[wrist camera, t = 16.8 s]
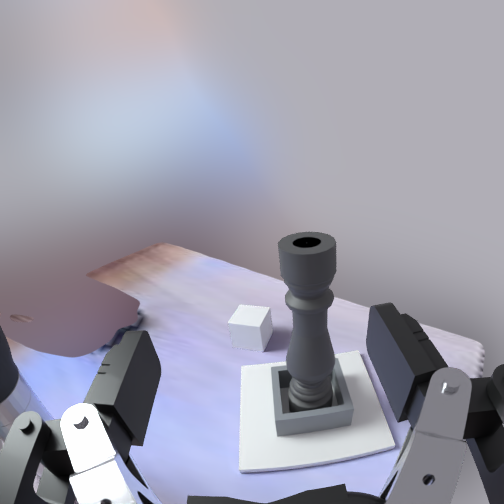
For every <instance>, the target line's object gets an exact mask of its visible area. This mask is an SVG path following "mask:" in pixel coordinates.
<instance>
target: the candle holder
mask: <svg viewBox="0 0 504 504" xmlns="http://www.w3.org/2000/svg"><path fill="white" fill-rule="evenodd" d="M278 249H279V259H280V270H281V276H282V278H283V279H284V283H285V284H286V285H287V286H288V288H289V290H288V292H287V293H286V295H285V302H286V305H287V306H288V307H289V308H290V310H292V313H293V331H292V335H291V339H290V344H289V348H288V352H287V356H286V366H287V370H288V371H289V373H290V374H291V376H292V379H291V381H290V388H289V390H288V398H289V411H290V412H291V413H294V412H301V411H308V410H315V409H322V408H328V407H332V400H333V389H332V383H331V379H330V377H329V375H330V374H331V372H332V370H333V368H334V365H335V355H334V351H333V347H332V344H331V340H330V336H329V332H328V329H327V309H328V308H329V307H330V306H331V305H332V302H333V300H334V295H333V292H332V291H331V290H330V289H329V285H330V284H331V282H332V280H333V278H334V275H335V273H336V241H335V239H334V238H333V237H331V236H330V235H328V234H324V233H319V232H302V233H296V234H292V235H288V236H286V237H284V238H282V239H281V240H280V241H279V242H278Z"/></svg>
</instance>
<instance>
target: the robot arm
mask: <svg viewBox="0 0 504 504" xmlns="http://www.w3.org/2000/svg"><path fill="white" fill-rule="evenodd" d="M366 346H367V351H368V355H369V357H370V359H371V361H372V364H373V366H374V368H375V370H376V373H377V375H378V377H379V379H380V382H381V384H382V386H383V389H384V391H385V393H386V396H387V398H388V400H389V403H390V405H391V408H392V410H393V412H394V415H395V417H396V420H397V422H401V421H405V420H409V422H410V425H411V426H410V429H409V431H408V434H407V436H406V439H405V441H404V444H403V446H402V449H401V451H400V453H399V456H398V458H397V460H396V463H395V465H394V467H393V469H392V472H391V474H390V476H389V478H388V479H387V481H386V483H385V485H384V487H383V489H382V490H381V492H380V494H379V496H378V497H377V496H374V495H371V494H366V493H361V492H347V491H346V486H345V484H341V485H336V486H331V487H326V488H320V489H314V490H307V491H304V492H301V493H298V494H296V495H293V496H290V497H287V498H284V499H280V500H277V501H274V502H271V503H257V502H251V501H245V500H239V499H234V498H229V497H210V496H188V498H187V504H450V503H451V500H452V497H453V494H454V491H455V488H456V485H457V482H458V478H459V475H460V472H461V468H462V464H463V460H464V456H465V452H466V447H467V444H468V446H469V448H470V451H471V453H472V456H473V458H474V461H475V463H476V466H477V468H478V471H479V474H480V477H481V479H482V482H483V485H484V488H485V491H486V494H487V497H488V500H489V503H490V504H504V427H503V425H502V424H504V364H503V365H500V366H498V367H497V368H496V369H495V370H494V372H493V374H492V376H491V377H487V378H469V377H468V375H467V374H466V373H464V372H463V371H461V370H459V369H457V368H452V367H448V365H447V364H446V362H445V361H444V359H443V358H442V356H441V355H440V353H439V352H438V350H437V349H436V348H435V346H434V345H433V343H432V342H431V340H429V337H428V336H427V335H426V333H425V332H423V329H422V327H421V326H420V325H419V323H418V322H417V321H416V320H415V319H413V318H412V317H410V316H409V315H407V314H401V315H400V313H399V312H398V311H397V309H396V308H395V306H394V305H393V304H392V303H385V304H380V305H374V306H371V308H370V312H369V321H368V330H367V338H366ZM160 377H161V365H160V361H159V358H158V356H157V353H156V351H155V348H154V346H153V343H152V341H151V338H150V336H149V334H148V332H147V331H145V330H144V331H127V332H125V334H124V336H123V338H122V340H121V342H120V344H119V345H115V346H114V347H113V348H112V349H111V350H110V351H109V352H108V353H107V354H106V355H105V357H104V360H103V362H102V366H100V368H99V370H98V374H96V376H95V378H94V380H93V382H92V385H91V387H90V389H89V391H88V393H87V396H86V398H85V400H84V402H83V404H78V405H75V406H73V407H71V408H70V409H68V410H67V411H66V412H65V413H64V415H63V417H62V419H56V420H54V418H53V417H52V416H51V415H50V413H49V412H48V411H47V409H46V408H45V407H44V405H43V404H42V403H41V401H40V400H39V399H38V397H37V396H36V395H35V393H34V392H33V390H32V389H31V387H30V386H29V385H28V383H27V382H26V380H25V379H24V377H23V376H22V374H21V373H20V371H19V370H18V368H17V366H16V365H15V363H14V361H13V359H12V355H11V351H10V348H9V344H8V342H7V339H6V337H5V335H4V333H3V331H2V328H1V326H0V439H1V440H2V441H3V442H4V444H3V447H2V449H1V451H0V504H74V501H75V496H76V498H77V501H78V503H79V504H162V502H161V501H160V500H159V499H158V498H157V497H156V495H155V494H154V493H153V491H152V490H151V488H150V486H149V485H148V483H147V481H146V480H145V478H144V477H143V475H142V473H141V471H140V470H139V468H138V466H137V464H136V463H135V461H134V459H133V457H132V456H131V454H130V453H129V451H130V447H131V445H135V446H143V442H144V438H145V434H146V430H147V426H148V422H149V418H150V414H151V410H152V407H153V403H154V399H155V395H156V392H157V388H158V384H159V381H160ZM463 439H466V441H467V443H466V441H463ZM36 474H37V475H38V476H39V477H40V478H41V479H40V483H39V486H38V489H37V493H35V491H34V488H33V483H34V479H35V476H36Z"/></svg>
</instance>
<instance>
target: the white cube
mask: <svg viewBox="0 0 504 504" xmlns="http://www.w3.org/2000/svg"><path fill="white" fill-rule="evenodd" d="M228 327H229V332H230V337H231V341H232V346H233V348H237V349H244V350H250V351H257V352H264V350H265V348H266V346H267V344H268V342H269V339H270V337H271V335H272V333H273V328H272V320H271V311H270V307H261V306H250V305H239V307H238V308H237V310H236V311H235V313H234V314H233V316H232V317H231V319H230V320H229V321H228Z"/></svg>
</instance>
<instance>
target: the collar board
mask: <svg viewBox="0 0 504 504" xmlns="http://www.w3.org/2000/svg"><path fill="white" fill-rule="evenodd" d="M334 355H335V365H334V368H333V370H332V372H331V374H330V375H329V377H330V379H331V383H332V389H333V400H332V407H328V408H322V409H315V410H308V411H301V412H294V413H291V412H290V411H289V398H288V390H289V388H290V381H291V379H292V376H291V374H290V373H289V371H288V370H287V366H286V361H285V362H276V363H267V364H257V365H247V366H241V402H240V443H239V471H240V473H249V472H266V471H278V470H287V469H296V468H304V467H311V466H317V465H324V464H329V463H335V462H340V461H345V460H350V459H354V458H359V457H363V456H367V455H371V454H375V453H379V452H383V451H387V450H390V449H394V447H395V443H394V440H393V437H392V434H391V432H390V429H389V426H388V424H387V421H386V418H385V416H384V413H383V410H382V408H381V405H380V403H379V400H378V398H377V395H376V392H375V390H374V387H373V385H372V382H371V380H370V377H369V375H368V372H367V370H366V368H365V365H364V363H363V360H362V358H361V356H360V353H359V351H358V350H357V351H351V352H346V353H340V354H334Z"/></svg>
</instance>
